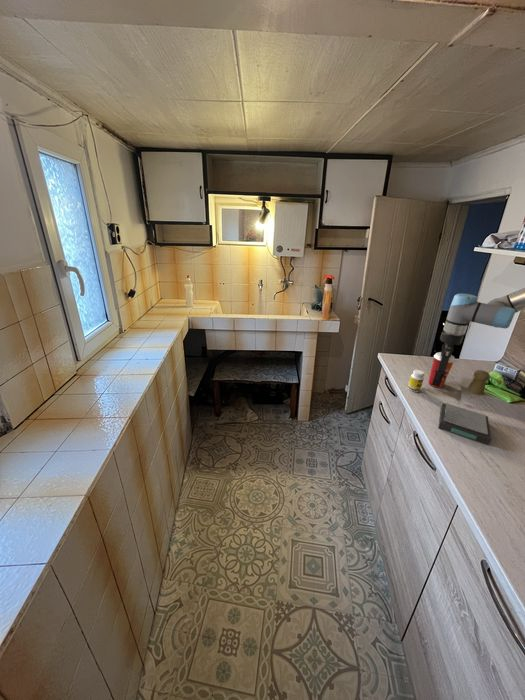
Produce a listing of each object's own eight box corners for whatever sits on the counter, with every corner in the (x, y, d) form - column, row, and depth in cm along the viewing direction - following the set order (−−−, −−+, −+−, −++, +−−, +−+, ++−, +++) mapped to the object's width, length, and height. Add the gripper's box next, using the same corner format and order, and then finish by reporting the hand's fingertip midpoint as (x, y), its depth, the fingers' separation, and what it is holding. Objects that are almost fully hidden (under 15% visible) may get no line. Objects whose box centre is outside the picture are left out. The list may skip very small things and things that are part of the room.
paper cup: (443, 391, 118) (453, 361, 112) (423, 384, 123) (432, 355, 117) (447, 384, 123) (457, 355, 118) (428, 378, 128) (437, 350, 122)
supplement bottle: (416, 393, 116) (421, 375, 112) (405, 388, 119) (410, 371, 116) (421, 390, 118) (427, 372, 115) (411, 385, 122) (416, 368, 118)
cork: (464, 395, 116) (474, 372, 111) (465, 389, 120) (474, 366, 116) (482, 401, 112) (493, 377, 108) (482, 394, 117) (492, 371, 112)
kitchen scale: (485, 422, 100) (488, 414, 99) (488, 445, 89) (492, 437, 88) (440, 408, 107) (443, 400, 106) (438, 428, 96) (441, 420, 95)
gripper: (443, 324, 122) (428, 370, 132) (441, 337, 107) (424, 388, 117) (464, 328, 119) (446, 375, 128) (464, 342, 104) (445, 395, 113)
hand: (436, 381), depth 122 cm, fingers closed on paper cup, 7 cm apart
